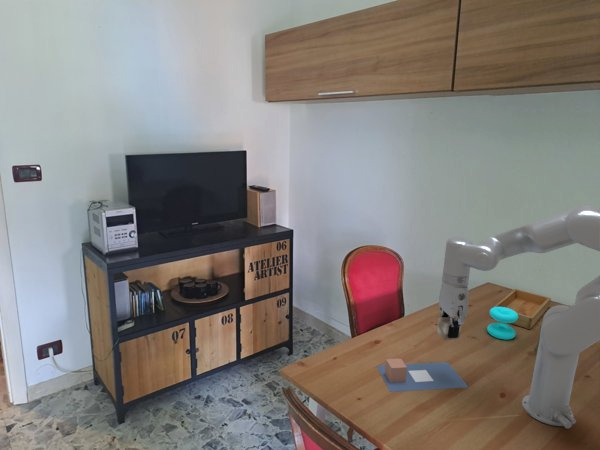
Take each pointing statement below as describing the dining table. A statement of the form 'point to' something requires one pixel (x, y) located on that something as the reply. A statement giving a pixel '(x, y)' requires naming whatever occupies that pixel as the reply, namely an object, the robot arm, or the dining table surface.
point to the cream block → (445, 328)
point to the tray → (525, 306)
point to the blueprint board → (425, 377)
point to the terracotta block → (395, 370)
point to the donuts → (500, 328)
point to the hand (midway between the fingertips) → (448, 332)
